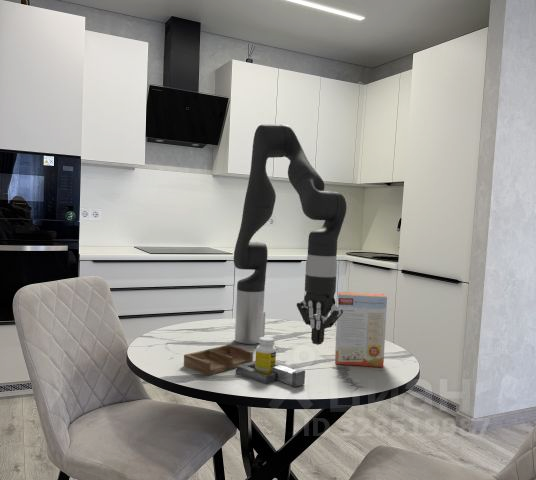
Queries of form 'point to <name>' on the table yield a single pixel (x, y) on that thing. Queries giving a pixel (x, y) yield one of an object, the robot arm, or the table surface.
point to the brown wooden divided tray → (217, 359)
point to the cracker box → (361, 329)
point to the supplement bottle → (265, 355)
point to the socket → (257, 372)
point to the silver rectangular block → (289, 375)
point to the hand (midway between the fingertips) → (317, 343)
